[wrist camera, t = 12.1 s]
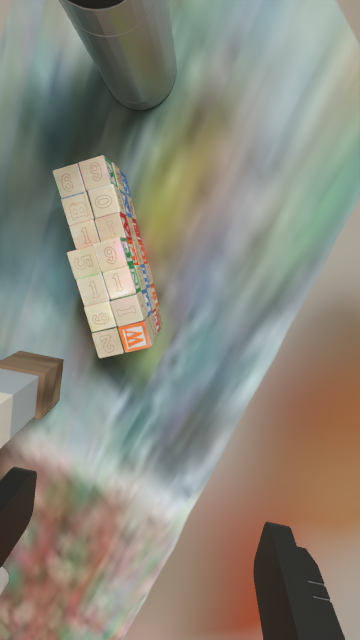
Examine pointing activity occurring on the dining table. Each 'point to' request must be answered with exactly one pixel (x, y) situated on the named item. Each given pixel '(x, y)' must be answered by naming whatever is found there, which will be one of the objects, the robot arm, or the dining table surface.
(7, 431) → the tower top
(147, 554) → the dining table surface
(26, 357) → the tower base
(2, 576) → the white bottle
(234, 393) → the dining table surface
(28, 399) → the tower mid
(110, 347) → the stack of blocks
